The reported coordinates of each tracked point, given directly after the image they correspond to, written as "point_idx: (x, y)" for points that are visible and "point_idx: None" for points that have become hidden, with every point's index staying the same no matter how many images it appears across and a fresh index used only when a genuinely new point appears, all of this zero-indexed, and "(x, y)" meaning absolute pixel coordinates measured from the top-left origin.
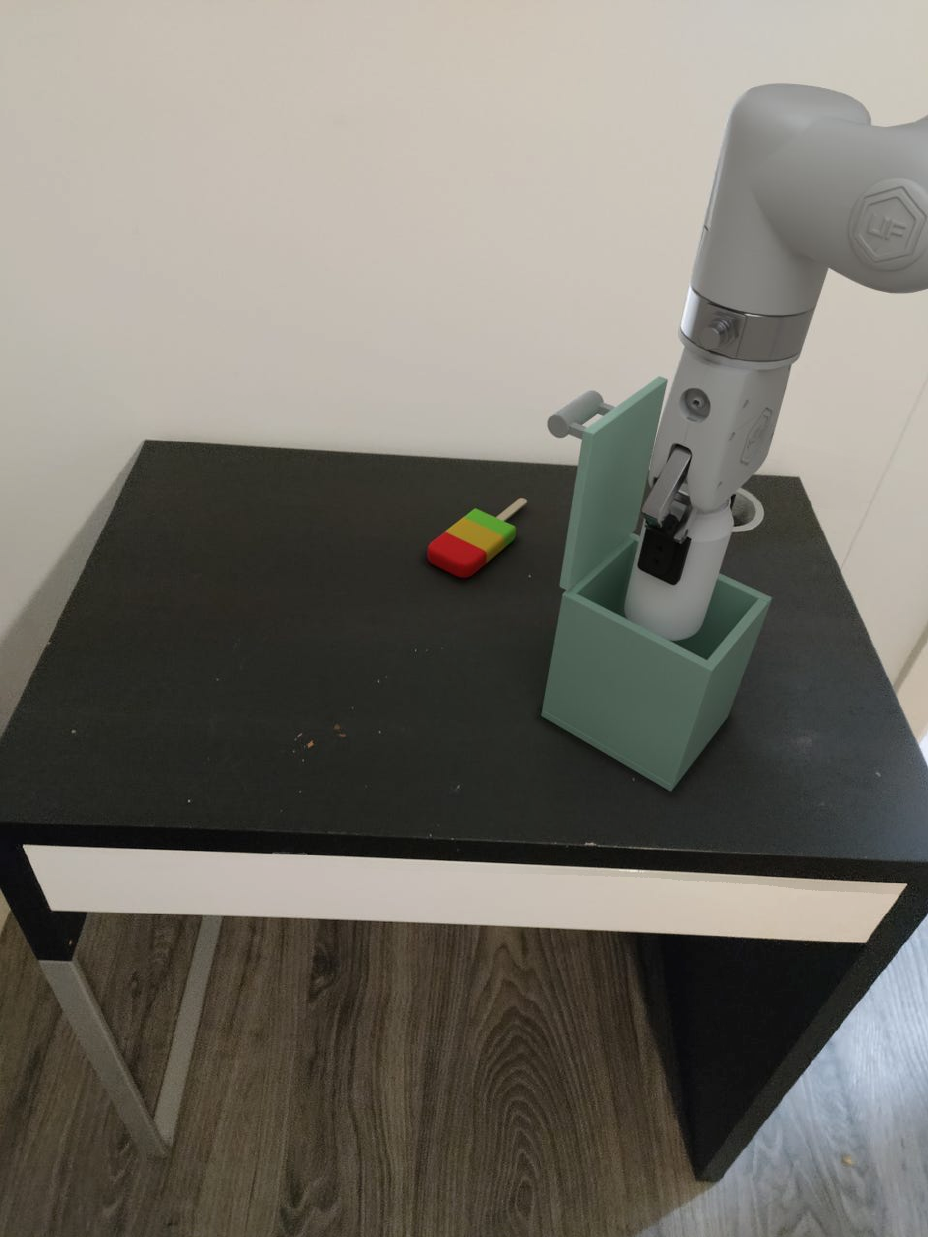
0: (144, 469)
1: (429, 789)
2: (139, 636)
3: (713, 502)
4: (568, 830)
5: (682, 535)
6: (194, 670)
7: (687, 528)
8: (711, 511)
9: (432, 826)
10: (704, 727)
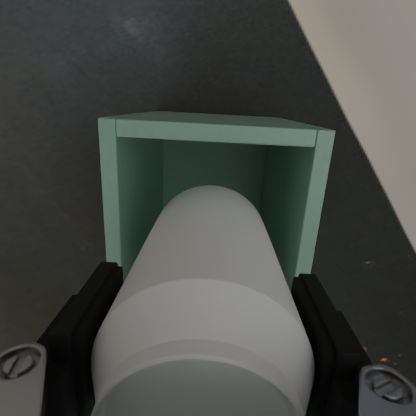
0: None
1: (380, 277)
2: None
3: None
4: (364, 172)
5: (411, 395)
6: None
7: (389, 404)
8: (237, 378)
9: (412, 258)
10: (240, 117)
